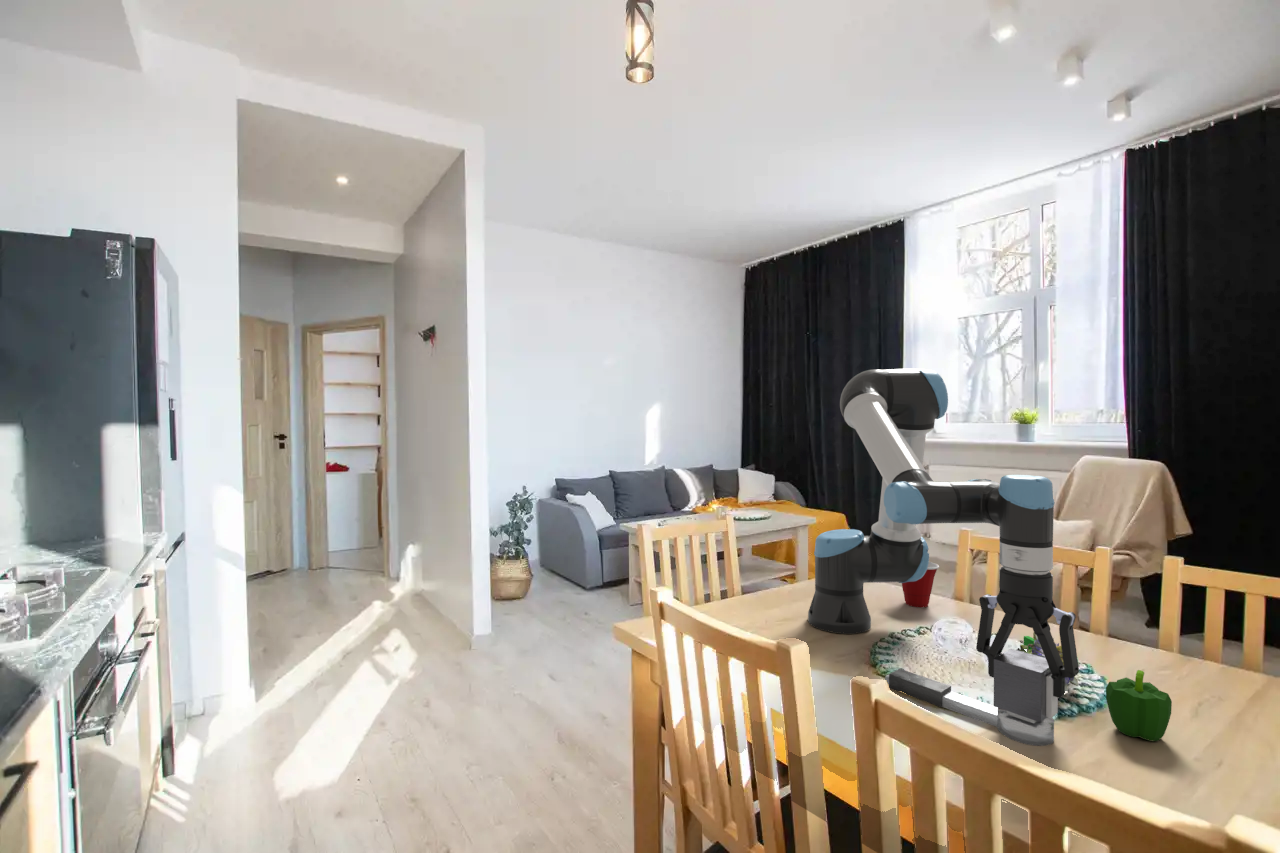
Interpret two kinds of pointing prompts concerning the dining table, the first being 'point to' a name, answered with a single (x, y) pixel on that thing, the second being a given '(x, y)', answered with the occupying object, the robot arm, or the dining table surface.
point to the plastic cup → (920, 588)
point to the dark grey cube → (1021, 684)
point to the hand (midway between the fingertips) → (1024, 705)
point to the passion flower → (1039, 652)
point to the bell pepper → (1138, 707)
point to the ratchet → (973, 708)
